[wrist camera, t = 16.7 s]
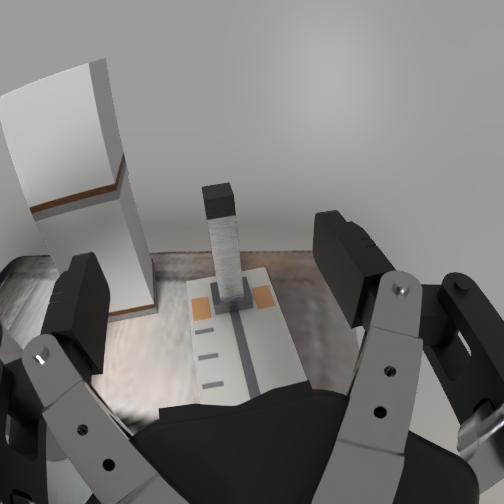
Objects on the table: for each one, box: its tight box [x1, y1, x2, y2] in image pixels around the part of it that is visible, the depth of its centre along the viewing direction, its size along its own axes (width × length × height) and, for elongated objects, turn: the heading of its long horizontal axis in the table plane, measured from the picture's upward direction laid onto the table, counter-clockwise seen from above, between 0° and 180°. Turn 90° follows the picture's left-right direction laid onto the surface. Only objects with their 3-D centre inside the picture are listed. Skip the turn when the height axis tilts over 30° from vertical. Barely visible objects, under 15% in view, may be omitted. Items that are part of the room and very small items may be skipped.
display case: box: [0, 59, 158, 323], centre depth 38 cm, size 11×11×35 cm
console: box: [186, 267, 307, 406], centre depth 38 cm, size 12×28×3 cm, turn 12°
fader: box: [202, 183, 253, 315], centre depth 38 cm, size 5×4×16 cm
